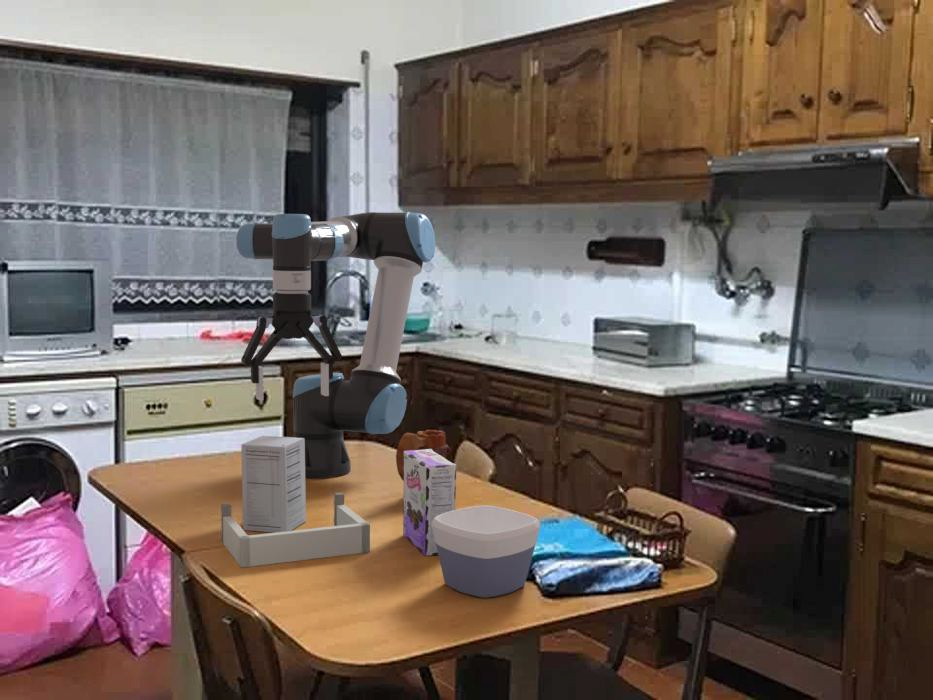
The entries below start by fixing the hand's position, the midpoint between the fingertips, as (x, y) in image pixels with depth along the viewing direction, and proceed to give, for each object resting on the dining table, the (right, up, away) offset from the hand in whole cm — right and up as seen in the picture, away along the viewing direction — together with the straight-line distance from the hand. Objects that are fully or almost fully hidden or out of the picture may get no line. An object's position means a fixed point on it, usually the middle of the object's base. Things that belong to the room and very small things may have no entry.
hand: (292, 397), depth 210 cm
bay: (+4, -26, -21) cm, 33 cm away
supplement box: (-2, -25, -8) cm, 26 cm away
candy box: (+28, -26, -18) cm, 43 cm away
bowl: (+38, -29, -40) cm, 62 cm away
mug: (+25, -23, +13) cm, 37 cm away
